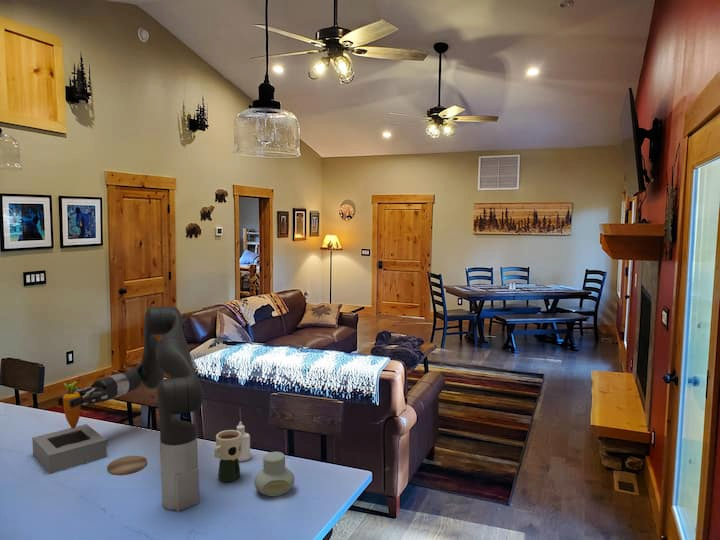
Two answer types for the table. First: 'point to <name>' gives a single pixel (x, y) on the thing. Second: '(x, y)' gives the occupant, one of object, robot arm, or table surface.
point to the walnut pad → (127, 465)
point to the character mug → (228, 454)
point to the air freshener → (274, 475)
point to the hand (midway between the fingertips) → (64, 403)
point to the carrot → (70, 413)
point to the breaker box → (69, 448)
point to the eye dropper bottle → (244, 443)
